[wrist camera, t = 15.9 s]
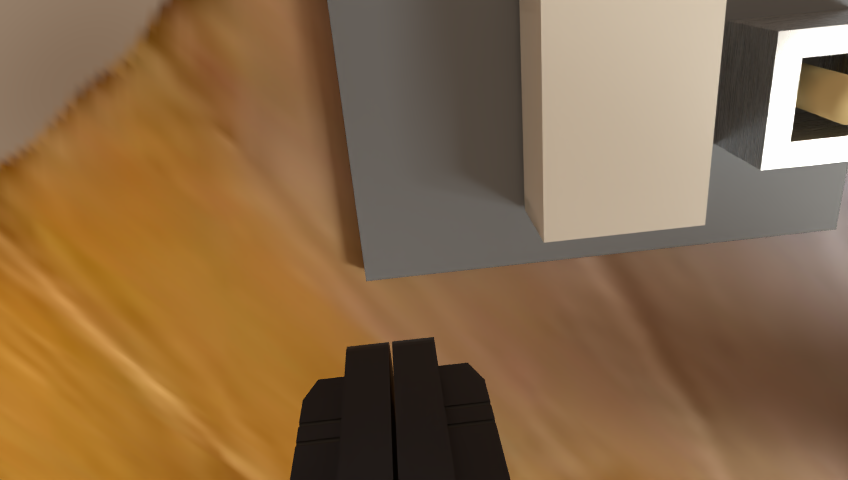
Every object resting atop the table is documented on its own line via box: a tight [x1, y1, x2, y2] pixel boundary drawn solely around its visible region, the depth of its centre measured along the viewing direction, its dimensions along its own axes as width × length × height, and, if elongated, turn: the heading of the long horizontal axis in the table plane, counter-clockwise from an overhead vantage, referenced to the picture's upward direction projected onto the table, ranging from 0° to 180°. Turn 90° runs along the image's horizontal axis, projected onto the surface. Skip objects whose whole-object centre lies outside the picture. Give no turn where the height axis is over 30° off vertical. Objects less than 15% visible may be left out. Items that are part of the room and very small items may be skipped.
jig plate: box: [327, 0, 848, 281], centre depth 28 cm, size 16×24×6 cm, turn 95°
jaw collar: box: [716, 9, 848, 170], centre depth 28 cm, size 6×6×4 cm
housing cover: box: [519, 0, 727, 243], centre depth 28 cm, size 10×7×4 cm
